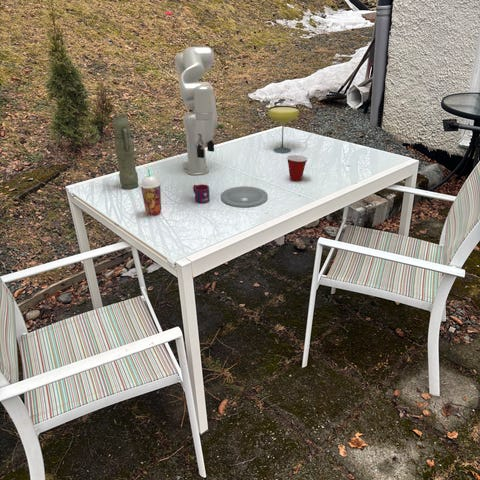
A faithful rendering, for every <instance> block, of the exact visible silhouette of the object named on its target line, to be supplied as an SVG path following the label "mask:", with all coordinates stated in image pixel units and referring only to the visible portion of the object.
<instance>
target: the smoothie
mask: <svg viewBox="0 0 480 480" xmlns="http://www.w3.org/2000/svg"><path fill="white" fill-rule="evenodd" d="M147 172H148V174H147V176H145V177H143V179H142V180H141V183H140V189H141V194H142V199H143V205H144V209H145V212H146V214H147V215H149V216H158V215H159V214H161V211H162V197H161V196H162V195H161V182H160V180H158V178H157V177H155V175H151V170H150V169H147Z"/></svg>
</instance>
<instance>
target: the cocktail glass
mask: <svg viewBox="0 0 480 480" xmlns="http://www.w3.org/2000/svg"><path fill="white" fill-rule="evenodd" d="M299 114H300V109H299V108H298V107H296V106H292V105H276V106H275V105H274V106H271V107H269V108H268V110H267V115H268V117H269V118H270V119H272V120H273V121H275V122H276V123H278V124H280V127H281V128H282V129H281V130H282V131H281V133H282V134H281V145H280V147H275V148H274V149H273V150H272V151H273V152H274V153H276V154H277V153H278V154H287V153H290V152H292V149H291V148H289V147H285V146H284V127H285V126H286V125H287V124H288V123H290V122H292V121H294V120H295V119H297V118H298V117H299Z"/></svg>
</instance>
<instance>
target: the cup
mask: <svg viewBox="0 0 480 480" xmlns="http://www.w3.org/2000/svg"><path fill="white" fill-rule="evenodd" d="M192 191H193V193H194V201H195V203H197V204H201V205H202V204H207V203H209V202H210V201H211V200H210V186H209V185H208V184H194V185H193V186H192Z"/></svg>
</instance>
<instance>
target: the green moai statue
mask: <svg viewBox="0 0 480 480" xmlns="http://www.w3.org/2000/svg"><path fill="white" fill-rule="evenodd" d="M112 128H113V134H114V141H113V144H114V150H115V151H114V152H115V155H116V156H117V162H118V170H119V173H118V177H119V184H120V188H121V189H123V190H126V191H127V190H135V189H137V188H139V186H140V185H139V176H138V172H137V170H136V169H137V168H136V161H135V148H134V141H133V139H132V135H131V127H130V121H129V119H128V117H127V116H126V115H124V114H118V115H115V116H113V118H112Z"/></svg>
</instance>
